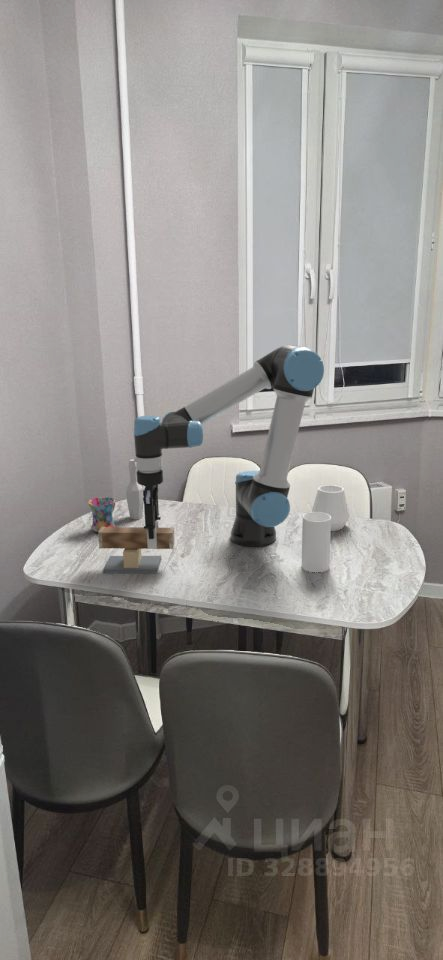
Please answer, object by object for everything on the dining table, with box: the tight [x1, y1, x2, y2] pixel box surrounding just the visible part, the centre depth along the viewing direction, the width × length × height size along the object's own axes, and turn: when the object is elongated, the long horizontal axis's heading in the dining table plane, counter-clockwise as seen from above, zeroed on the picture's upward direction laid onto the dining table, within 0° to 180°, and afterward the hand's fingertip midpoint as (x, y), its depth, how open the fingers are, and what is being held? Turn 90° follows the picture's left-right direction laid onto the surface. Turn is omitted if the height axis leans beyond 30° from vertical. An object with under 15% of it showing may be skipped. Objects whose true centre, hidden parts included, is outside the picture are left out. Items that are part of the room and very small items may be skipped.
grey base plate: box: [102, 548, 162, 574], centre depth 186 cm, size 16×10×6 cm, turn 88°
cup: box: [301, 511, 332, 574], centre depth 182 cm, size 8×8×16 cm
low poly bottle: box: [125, 458, 144, 520], centre depth 225 cm, size 6×6×22 cm
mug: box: [87, 496, 117, 533], centre depth 216 cm, size 12×9×11 cm
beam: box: [97, 526, 175, 550], centre depth 184 cm, size 22×5×5 cm, turn 88°
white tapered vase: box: [311, 484, 350, 532], centre depth 214 cm, size 13×13×14 cm
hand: (153, 544), depth 184 cm, fingers closed on beam, 4 cm apart
